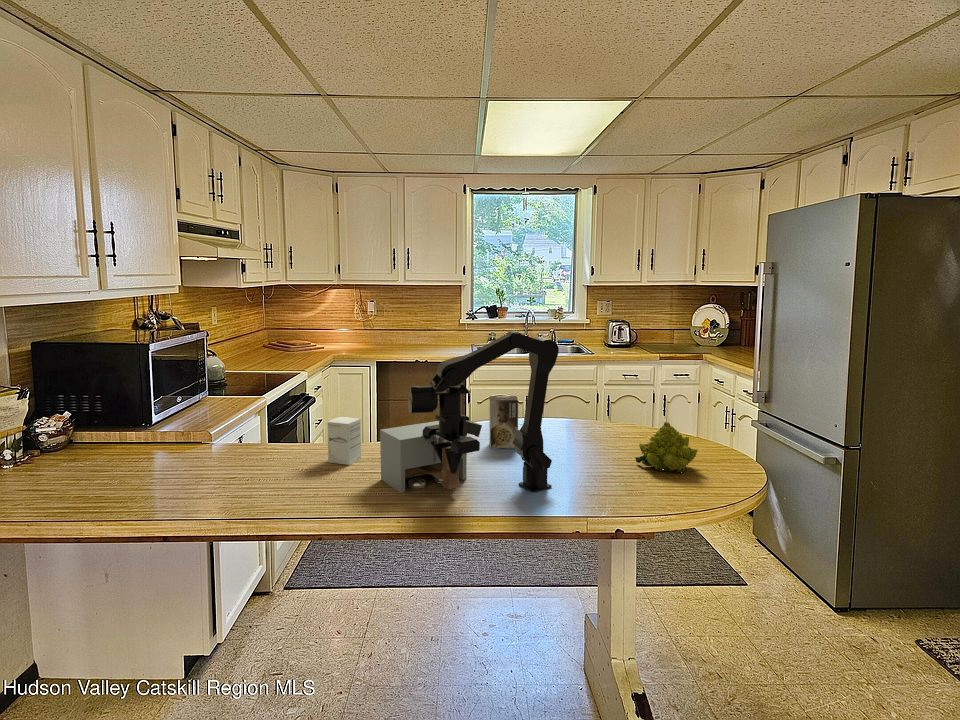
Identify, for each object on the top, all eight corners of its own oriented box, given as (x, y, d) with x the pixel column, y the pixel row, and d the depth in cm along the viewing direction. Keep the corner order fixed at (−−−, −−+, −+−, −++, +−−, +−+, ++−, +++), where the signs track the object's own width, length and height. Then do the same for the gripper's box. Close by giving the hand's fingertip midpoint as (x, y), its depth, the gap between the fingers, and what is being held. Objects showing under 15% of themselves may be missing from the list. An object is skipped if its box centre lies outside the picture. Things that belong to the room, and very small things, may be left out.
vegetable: (621, 452, 182) (651, 410, 181) (654, 472, 189) (683, 432, 188) (651, 476, 169) (684, 432, 168) (685, 497, 176) (716, 455, 175)
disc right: (454, 481, 168) (454, 476, 167) (440, 484, 165) (440, 479, 165) (445, 477, 171) (445, 471, 171) (431, 480, 169) (431, 474, 169)
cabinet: (466, 478, 169) (466, 429, 167) (401, 493, 158) (400, 440, 156) (444, 466, 179) (444, 419, 177) (381, 479, 168) (380, 429, 166)
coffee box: (516, 443, 204) (517, 395, 202) (518, 448, 198) (519, 399, 195) (488, 443, 204) (489, 395, 201) (489, 449, 197) (490, 399, 195)
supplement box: (327, 463, 182) (326, 421, 180) (340, 456, 189) (339, 415, 187) (349, 465, 180) (348, 423, 178) (362, 458, 187) (361, 417, 185)
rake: (478, 482, 160) (477, 444, 159) (428, 493, 151) (426, 453, 151) (446, 469, 173) (445, 434, 172) (397, 478, 165) (396, 441, 164)
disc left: (428, 487, 163) (428, 481, 163) (413, 490, 161) (413, 484, 161) (420, 482, 167) (420, 477, 167) (405, 485, 164) (405, 479, 164)
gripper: (498, 414, 151) (497, 475, 153) (457, 400, 166) (457, 456, 169) (459, 420, 145) (459, 484, 147) (421, 405, 160) (421, 463, 162)
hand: (450, 471), depth 156 cm, fingers closed on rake, 3 cm apart
